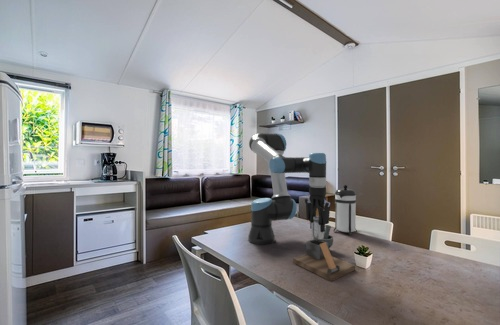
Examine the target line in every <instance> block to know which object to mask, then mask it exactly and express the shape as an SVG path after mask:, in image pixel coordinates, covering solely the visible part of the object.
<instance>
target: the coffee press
mask: <svg viewBox="0 0 500 325" xmlns="http://www.w3.org/2000/svg"><path fill="white" fill-rule="evenodd" d="M334 195H335V196H334V197H335V198H334V204H335V205H334V206H335V207H334V210H335V211H334V212H335V215H334V217H335V218H334V226H335V227H334V228H333V232H334V233H337V232H343V233H348V234H347V235H348V236H353V232H355V233H357V232H358V231H357V228H356V227H357V226H356V225H357V224H356V214H357V213H356V212H357V211H356V209H357V208H356V207H357V206H356V205H357V198H356V197H357V193H356V191H355V190H354V189H351V188H348V185H347V184H344V185H343V188H338V189H336V190H335V192H334Z"/></svg>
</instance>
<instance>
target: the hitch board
mask: <svg viewBox="0 0 500 325" xmlns="http://www.w3.org/2000/svg"><path fill="white" fill-rule="evenodd" d="M321 243H324V241H321ZM326 244H327V247H328V243H327V242H326ZM305 249H306V250H305V251H306V252H305V253H304V254H303V255H298V256H296V257H293V258H292V262H293V264H295V265H297V266H298V267H301V268H303V269H305V270H308V271H309V272H312V273H313V274H316V275H318V276H320V277H322V278H323V279H326V280H328V281H330V282H333V281H336V280H338V279H339V278H341V277H344V276H346V275H348V274H350V273H352V272H354V271H356V265H355V264H354V263H350V262H348V261H346V260H342V259H340V258H337V257H335V256H332V259H333V261H334V264H335V266H336V267H337V268H338V270H337V271H335V272H332V273H331V269H329V267H328V264H327V262H326V259H325V257H324V254H323V252H322V249H321V247H320V244H319V245H317V244H314V243H313V239H311V240H308V241H307V240H306V242H305Z"/></svg>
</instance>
